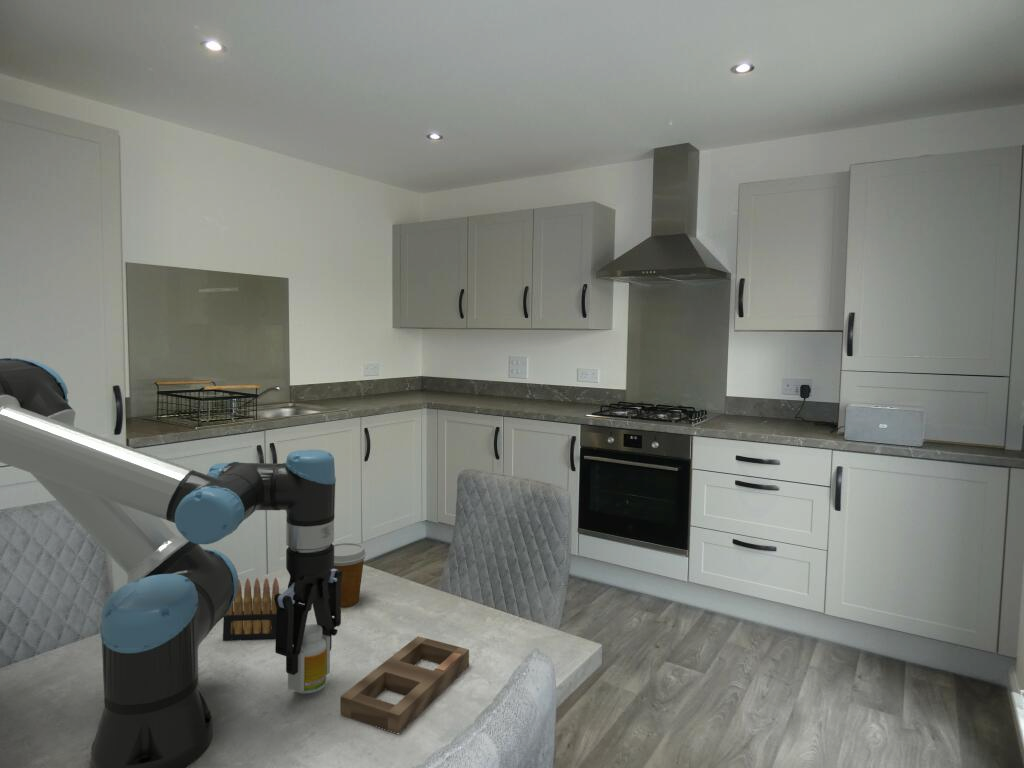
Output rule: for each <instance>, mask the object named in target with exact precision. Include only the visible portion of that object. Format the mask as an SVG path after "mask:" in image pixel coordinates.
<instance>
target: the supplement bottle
mask: <svg viewBox="0 0 1024 768" xmlns="http://www.w3.org/2000/svg"><path fill="white" fill-rule="evenodd" d="M301 652H304V691H303V692H302V693H301V694H313V693H316V692H318V691H320V690H322V689H324V687H325V685H326V683H327V675H326V641H325V640H324V639H323V638H322V627H321V626H320V625H317V623H316V624H314V623H312V624H310V623H309V624H306V626H305V631H304V636H303V641H302V646H301Z"/></svg>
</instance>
